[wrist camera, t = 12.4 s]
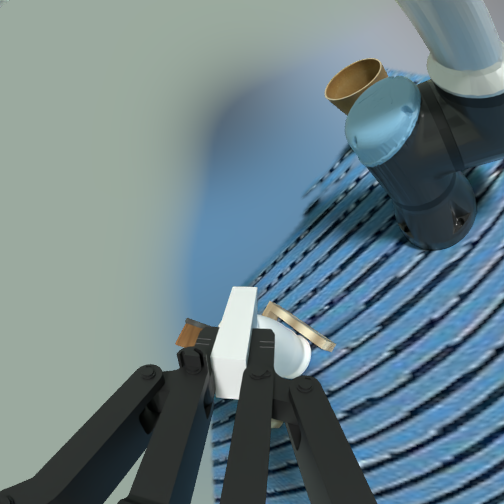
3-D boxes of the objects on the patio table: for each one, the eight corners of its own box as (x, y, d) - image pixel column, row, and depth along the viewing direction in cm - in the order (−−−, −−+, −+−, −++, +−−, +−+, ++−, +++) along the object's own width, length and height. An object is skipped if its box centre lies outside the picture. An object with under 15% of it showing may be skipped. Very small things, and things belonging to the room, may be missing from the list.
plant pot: (421, 138, 46) (384, 79, 37) (364, 158, 57) (321, 110, 49) (411, 100, 51) (376, 49, 43) (363, 119, 62) (326, 76, 54)
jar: (302, 392, 44) (236, 383, 36) (266, 372, 52) (204, 358, 44) (325, 337, 46) (264, 314, 38) (286, 324, 55) (227, 301, 47)
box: (336, 344, 44) (258, 315, 34) (279, 428, 43) (193, 423, 34) (279, 305, 58) (209, 273, 49) (237, 377, 58) (164, 359, 49)
